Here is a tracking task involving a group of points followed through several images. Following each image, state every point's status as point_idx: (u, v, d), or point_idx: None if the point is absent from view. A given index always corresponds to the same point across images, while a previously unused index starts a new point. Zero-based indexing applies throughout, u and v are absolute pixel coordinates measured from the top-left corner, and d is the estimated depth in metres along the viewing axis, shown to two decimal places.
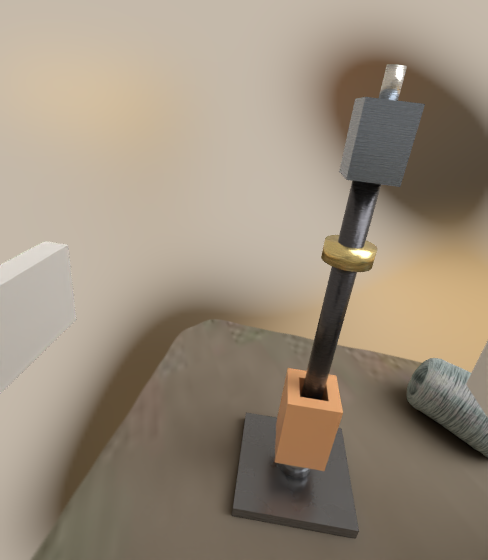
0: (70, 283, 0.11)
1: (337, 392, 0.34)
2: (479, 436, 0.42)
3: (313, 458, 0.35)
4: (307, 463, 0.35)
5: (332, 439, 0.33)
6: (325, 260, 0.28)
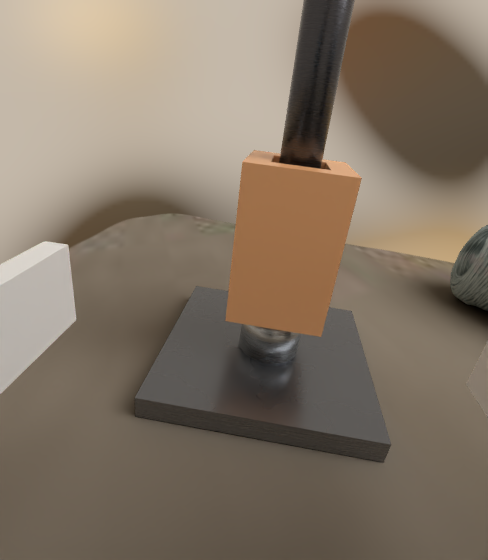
0: (70, 283, 0.11)
1: (348, 168, 0.17)
2: None
3: (299, 306, 0.18)
4: (288, 320, 0.18)
5: (338, 255, 0.16)
6: None
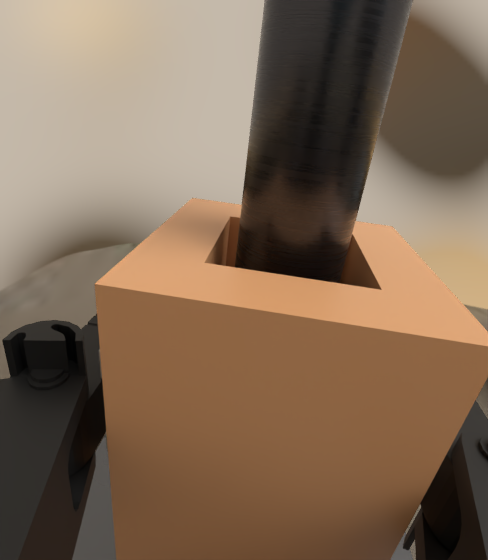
0: None
1: (418, 263, 0.06)
2: None
3: None
4: None
5: (398, 521, 0.06)
6: None
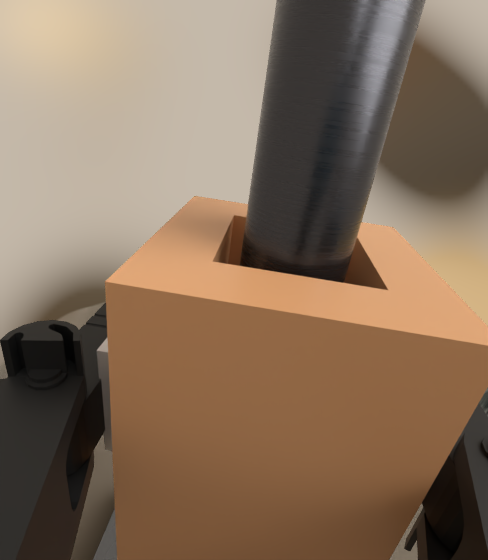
0: None
1: (421, 264, 0.07)
2: None
3: None
4: None
5: (400, 518, 0.06)
6: None
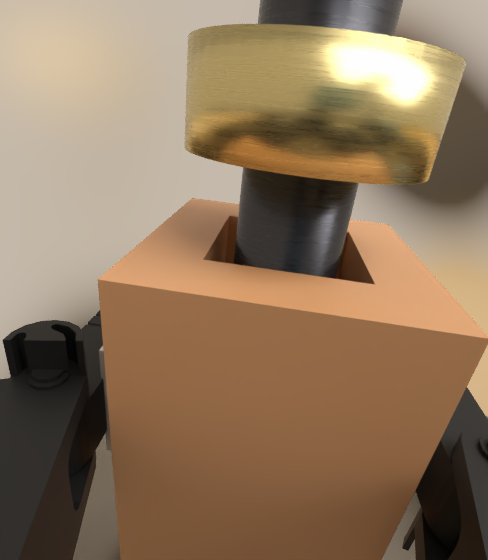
0: None
1: (411, 259, 0.07)
2: None
3: None
4: None
5: (393, 510, 0.06)
6: (187, 139, 0.05)
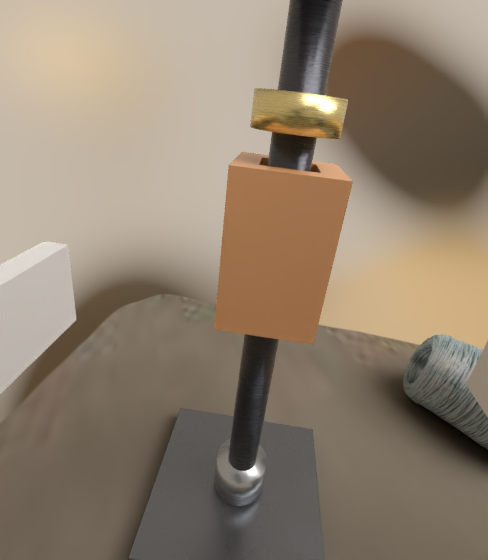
0: (70, 283, 0.11)
1: (339, 170, 0.16)
2: None
3: (290, 314, 0.17)
4: (279, 327, 0.17)
5: (329, 260, 0.16)
6: (254, 124, 0.15)
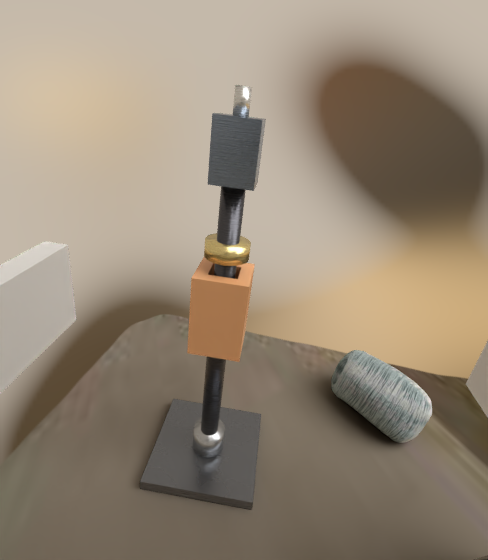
0: (70, 283, 0.11)
1: (250, 274, 0.32)
2: (384, 421, 0.45)
3: (226, 346, 0.33)
4: (220, 352, 0.33)
5: (242, 321, 0.32)
6: (204, 255, 0.31)
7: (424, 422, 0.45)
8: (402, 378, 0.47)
